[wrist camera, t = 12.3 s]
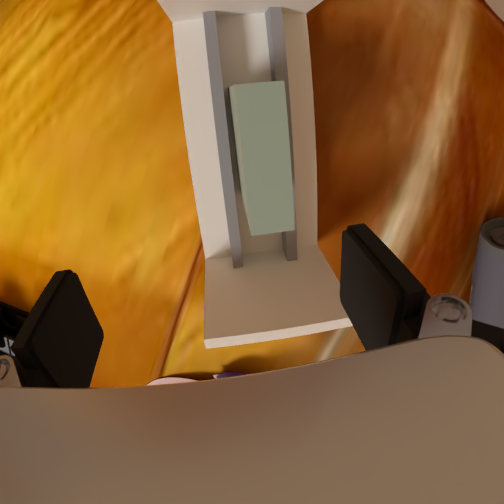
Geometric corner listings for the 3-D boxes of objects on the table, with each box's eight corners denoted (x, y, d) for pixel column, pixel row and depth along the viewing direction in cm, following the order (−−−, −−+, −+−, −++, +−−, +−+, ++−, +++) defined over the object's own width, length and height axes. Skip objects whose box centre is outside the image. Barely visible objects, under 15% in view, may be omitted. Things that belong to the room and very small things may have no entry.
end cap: (-6, 328, 38) (-23, 355, 32) (-12, 295, 35) (-32, 323, 29) (43, 348, 41) (29, 380, 35) (40, 317, 38) (23, 349, 32)
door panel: (228, 87, 26) (234, 84, 17) (261, 84, 26) (284, 80, 17) (240, 190, 31) (251, 235, 22) (271, 187, 31) (294, 230, 22)
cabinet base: (174, 18, 23) (144, -31, 11) (299, 8, 24) (357, -38, 12) (207, 258, 36) (206, 348, 24) (312, 244, 37) (356, 325, 24)
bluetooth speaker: (488, 312, 48) (516, 345, 39) (453, 332, 49) (480, 369, 40) (502, 207, 37) (546, 236, 28) (461, 225, 38) (506, 260, 29)
